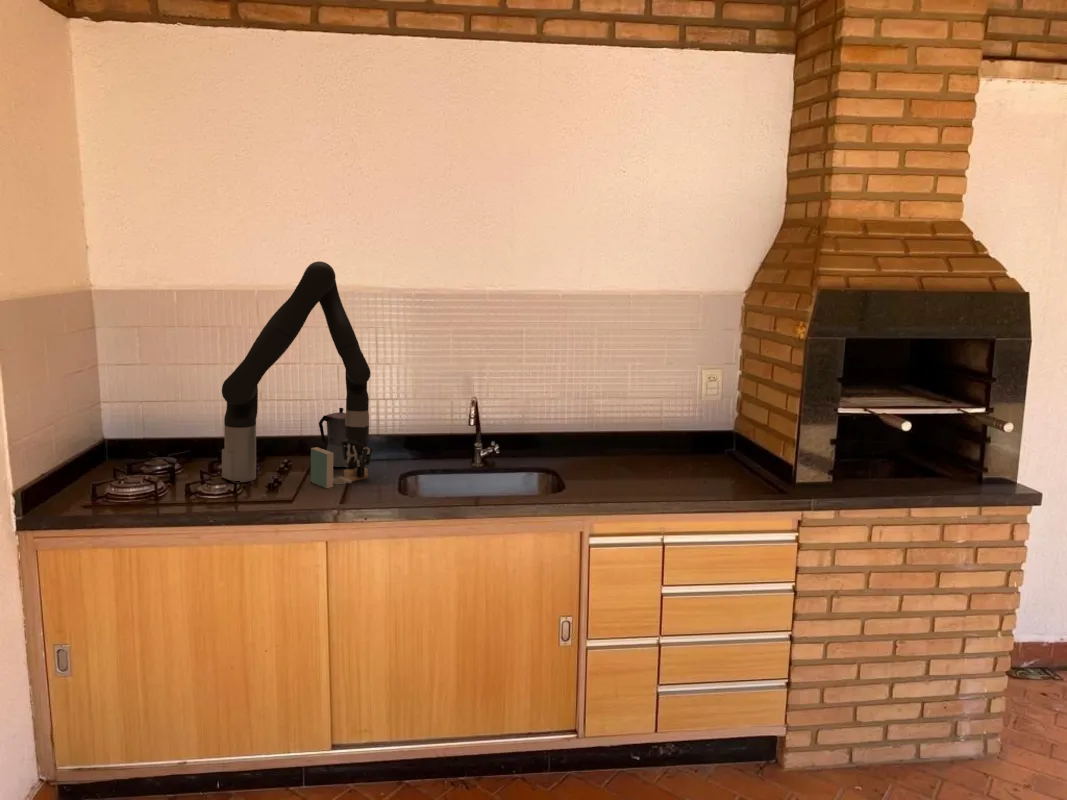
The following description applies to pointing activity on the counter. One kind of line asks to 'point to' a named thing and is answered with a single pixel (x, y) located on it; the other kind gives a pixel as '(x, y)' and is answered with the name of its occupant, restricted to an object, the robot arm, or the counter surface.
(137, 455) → the counter surface
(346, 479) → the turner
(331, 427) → the moka pot
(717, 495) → the counter surface
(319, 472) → the tile
